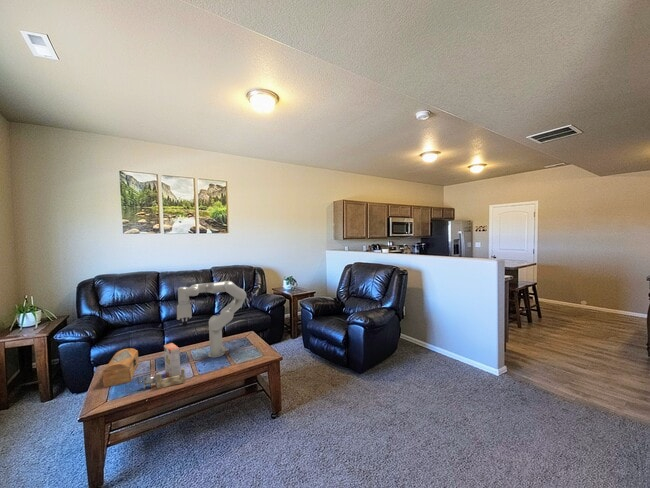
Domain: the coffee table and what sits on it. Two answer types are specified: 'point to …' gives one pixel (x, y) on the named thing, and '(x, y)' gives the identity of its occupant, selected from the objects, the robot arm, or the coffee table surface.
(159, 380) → the bay
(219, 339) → the robot arm
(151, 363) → the coffee table surface
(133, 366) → the wooden box
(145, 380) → the winch
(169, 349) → the cracker box
